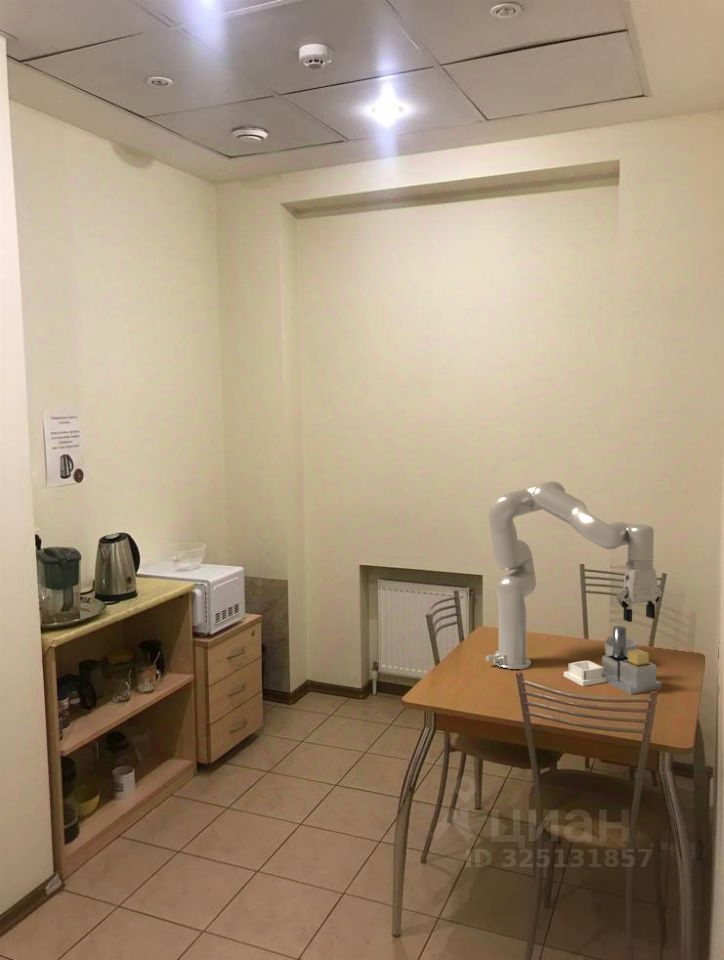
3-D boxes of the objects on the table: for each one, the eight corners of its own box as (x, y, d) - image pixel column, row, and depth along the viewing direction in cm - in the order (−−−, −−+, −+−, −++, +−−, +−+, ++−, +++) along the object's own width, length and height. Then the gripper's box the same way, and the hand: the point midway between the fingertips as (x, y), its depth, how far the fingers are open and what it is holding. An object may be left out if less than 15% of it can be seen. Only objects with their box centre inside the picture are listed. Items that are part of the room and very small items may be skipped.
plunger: (637, 673, 241) (637, 655, 241) (627, 669, 245) (627, 651, 245) (648, 671, 243) (648, 653, 242) (638, 667, 247) (639, 649, 246)
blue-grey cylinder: (618, 675, 250) (618, 630, 249) (609, 671, 254) (610, 626, 252) (628, 673, 252) (628, 628, 250) (619, 669, 255) (620, 625, 254)
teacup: (642, 668, 262) (642, 645, 261) (610, 669, 262) (610, 646, 261) (627, 655, 276) (628, 633, 275) (597, 656, 276) (597, 634, 275)
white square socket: (582, 686, 246) (583, 672, 246) (563, 676, 256) (563, 662, 255) (608, 681, 250) (608, 668, 250) (588, 672, 259) (588, 658, 259)
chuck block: (630, 694, 239) (631, 669, 238) (594, 676, 255) (594, 652, 254) (661, 688, 243) (662, 664, 242) (623, 671, 259) (624, 648, 259)
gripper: (626, 569, 234) (625, 625, 236) (670, 564, 241) (669, 619, 242) (609, 564, 241) (608, 619, 243) (653, 560, 248) (652, 613, 249)
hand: (639, 619), depth 243 cm, fingers open, 8 cm apart
